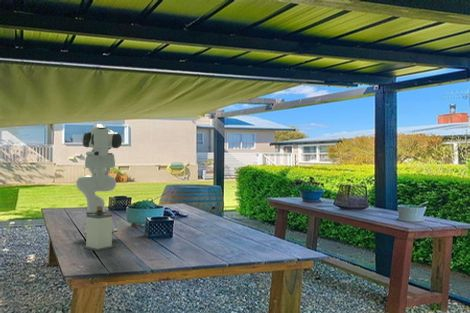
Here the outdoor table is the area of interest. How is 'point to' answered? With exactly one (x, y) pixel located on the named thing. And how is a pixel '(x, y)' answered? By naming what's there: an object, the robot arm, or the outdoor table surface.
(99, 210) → the plunger
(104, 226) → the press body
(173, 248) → the outdoor table surface
